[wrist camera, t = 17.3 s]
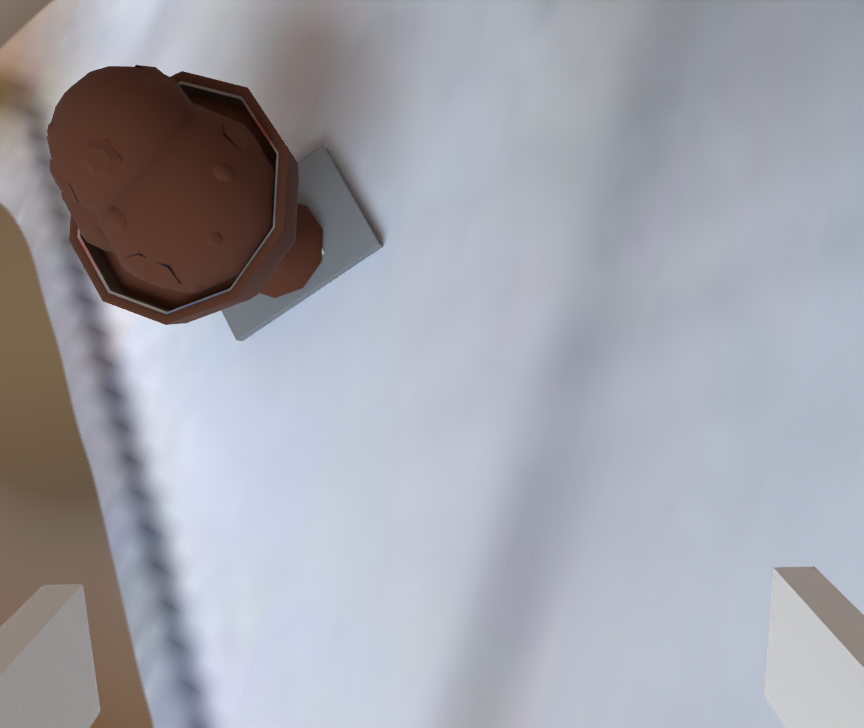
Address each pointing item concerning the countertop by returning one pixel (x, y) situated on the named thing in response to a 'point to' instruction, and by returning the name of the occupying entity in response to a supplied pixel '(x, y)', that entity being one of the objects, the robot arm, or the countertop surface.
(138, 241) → the ice cream bowl
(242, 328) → the mat
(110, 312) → the countertop surface
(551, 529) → the countertop surface
